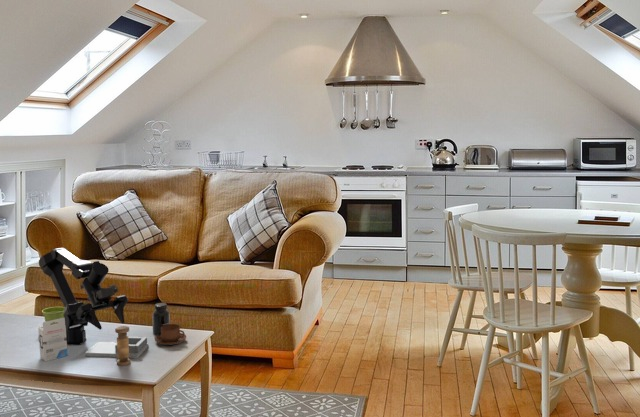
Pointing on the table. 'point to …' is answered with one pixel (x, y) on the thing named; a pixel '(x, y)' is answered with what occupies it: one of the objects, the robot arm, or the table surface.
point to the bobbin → (122, 346)
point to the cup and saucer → (170, 335)
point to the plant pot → (53, 313)
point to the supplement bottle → (160, 317)
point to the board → (110, 348)
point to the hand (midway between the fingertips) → (112, 325)
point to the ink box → (53, 340)
